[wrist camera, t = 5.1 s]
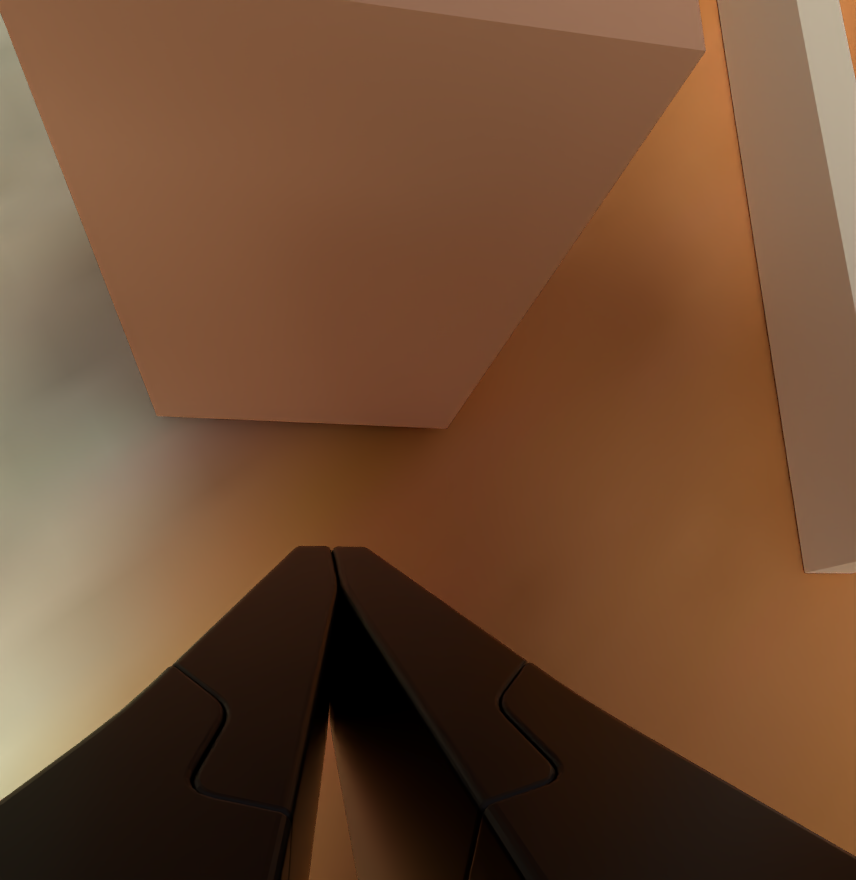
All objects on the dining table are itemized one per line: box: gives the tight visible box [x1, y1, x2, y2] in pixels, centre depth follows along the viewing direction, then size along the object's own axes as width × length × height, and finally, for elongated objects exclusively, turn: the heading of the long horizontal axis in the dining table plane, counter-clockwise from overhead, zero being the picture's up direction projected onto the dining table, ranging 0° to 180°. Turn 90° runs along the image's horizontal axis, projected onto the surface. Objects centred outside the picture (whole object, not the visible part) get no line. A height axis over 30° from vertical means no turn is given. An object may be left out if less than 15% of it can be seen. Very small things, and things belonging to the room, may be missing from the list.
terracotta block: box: [0, 0, 706, 429], centre depth 13 cm, size 6×6×11 cm
